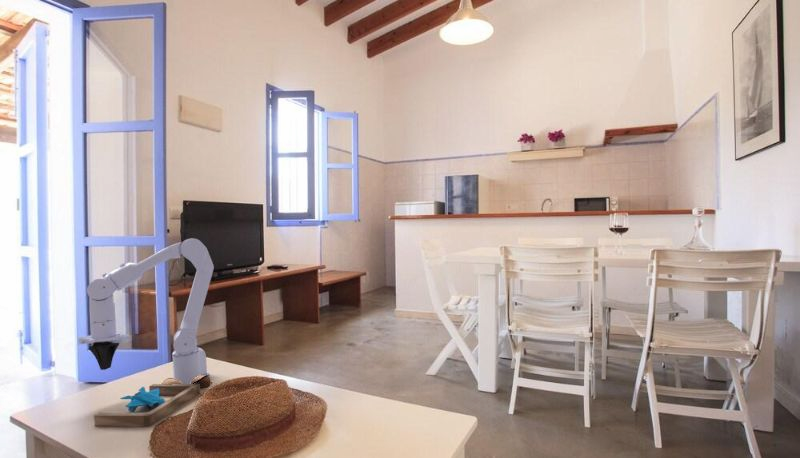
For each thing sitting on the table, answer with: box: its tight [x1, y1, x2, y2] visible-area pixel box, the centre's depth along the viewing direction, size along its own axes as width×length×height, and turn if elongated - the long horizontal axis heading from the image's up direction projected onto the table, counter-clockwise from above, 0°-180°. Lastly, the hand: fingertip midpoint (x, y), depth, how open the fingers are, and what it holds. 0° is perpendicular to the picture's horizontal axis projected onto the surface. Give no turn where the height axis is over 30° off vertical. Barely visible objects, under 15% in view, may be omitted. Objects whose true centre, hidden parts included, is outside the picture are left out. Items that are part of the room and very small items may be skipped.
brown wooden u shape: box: [93, 383, 201, 427], centre depth 103 cm, size 19×14×2 cm
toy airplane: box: [119, 386, 166, 413], centre depth 104 cm, size 12×10×4 cm
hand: (105, 368), depth 111 cm, fingers closed
